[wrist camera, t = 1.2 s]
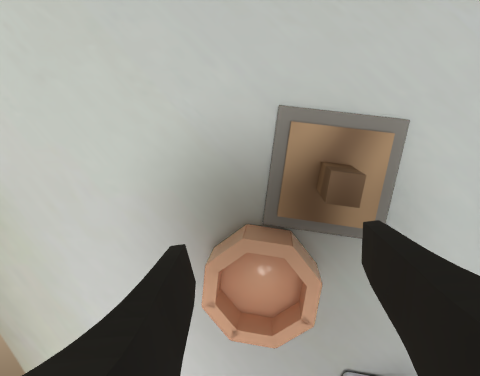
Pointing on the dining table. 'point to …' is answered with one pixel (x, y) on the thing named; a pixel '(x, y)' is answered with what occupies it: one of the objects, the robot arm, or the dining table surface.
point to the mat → (338, 120)
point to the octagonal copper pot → (261, 286)
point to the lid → (333, 174)
